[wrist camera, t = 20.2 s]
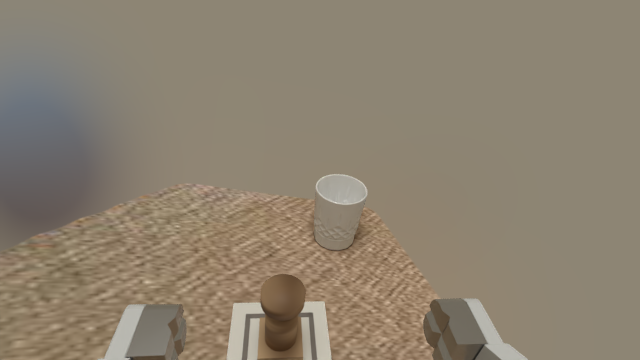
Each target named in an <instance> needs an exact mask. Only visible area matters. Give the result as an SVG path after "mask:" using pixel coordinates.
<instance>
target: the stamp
mask: <svg viewBox="0 0 640 360" xmlns="http://www.w3.org/2000/svg"><path fill="white" fill-rule="evenodd" d="M305 295H306V291H305V287H304V285H303V283H302V282H301V281H300V280H299V279H298V278H296V277H294V276H292V275H287V274H280V275H275V276H273V277H271V278H269V279H268V280H266V281H265V283H264V284H263V286H262V288H261V308H262V310H263V312H264V313H265V317H264V318H260V322H259V339H258V356H257V360H303V343H302V324H301V317H298V315H299V314H300V313H301V311H302V310H303V307H304V303H305Z"/></svg>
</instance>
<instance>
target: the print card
mask: <svg viewBox="0 0 640 360" xmlns="http://www.w3.org/2000/svg"><path fill="white" fill-rule="evenodd" d="M264 317H265V313H264V312H263V310H262V308H261V303H234V305H233V313H232V321H231V329H230V337H229V344H228V352H227V360H257V356H258V339H259V322H260V318H264ZM298 317H301V324H302V343H303V360H332V359H331V351H330V343H329V335H328V327H327V319H326V310H325V302H305V303H304V307H303V310H302V311H301V313H300V314H299V315H298Z"/></svg>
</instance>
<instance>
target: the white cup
mask: <svg viewBox="0 0 640 360" xmlns="http://www.w3.org/2000/svg"><path fill="white" fill-rule="evenodd" d="M366 197H367V188H366V187H365V186H364V184H363V183H362V182H361V181H359V180H357V179H356V178H353V177H351V176H347V175H342V174H332V175H327V176H324V177H322V178H321V179H319V180H318V182H317V184H316V193H315V208H314V236H315V240H316V241H317V242H318V243H319V244H320V245H321V246H322V247H324V248H327V249H329V250H342V249H346V248H348V247H349V246H350V245H351V244H352V243H353V239H354V236H355V233H356V230H357V228H358V225H359V222H360V218H361V215H362V211H363V207H364V204H365V200H366Z"/></svg>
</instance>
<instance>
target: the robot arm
mask: <svg viewBox="0 0 640 360" xmlns="http://www.w3.org/2000/svg"><path fill="white" fill-rule="evenodd" d="M430 308H431V311H430V312H428V313H427V314H426V315H425V318H424V322H423V329H424V334H425V337H426V340H427V342H428V343H429V344H430V345H431V346H432V347H433V348H434V351H433V354H432V356H433V359H434V360H528V359H527V358H525V357H524V356H523V355H522V354H520V353H519V352H518V351H517V350H515V349H514V348H513V347H512V346H510V345H509V344H504V343H503V341H502V339H501V337H500V336H499V334H498V332H497V330H496V329H495V327H494V325H493V323H492V322H491V320H490V318H489V316H488V314H487V313H486V311H485V309H484V307H483V306H482V304H481V302H480V301H479V300H478V299H461V298H459V299H434V300H433V301H432V302H431V304H430ZM183 312H184V310H183V306H182V304H158V305H148V304H139V305H128V306H127V308H126V309H125V310H124V313H123V315H122V317H121V320H120V322H119V324H118V327H117V329H116V331H115V334H114V336H113V338H112V341H111V343H110V345H109V348H108V350H107V352H106V355H105V357H104V359H98V360H178V356H179V355H180V354H181V353H182V352H183V349H184V345H185V339H186V320H185V319H184V318H182V315H183Z"/></svg>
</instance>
